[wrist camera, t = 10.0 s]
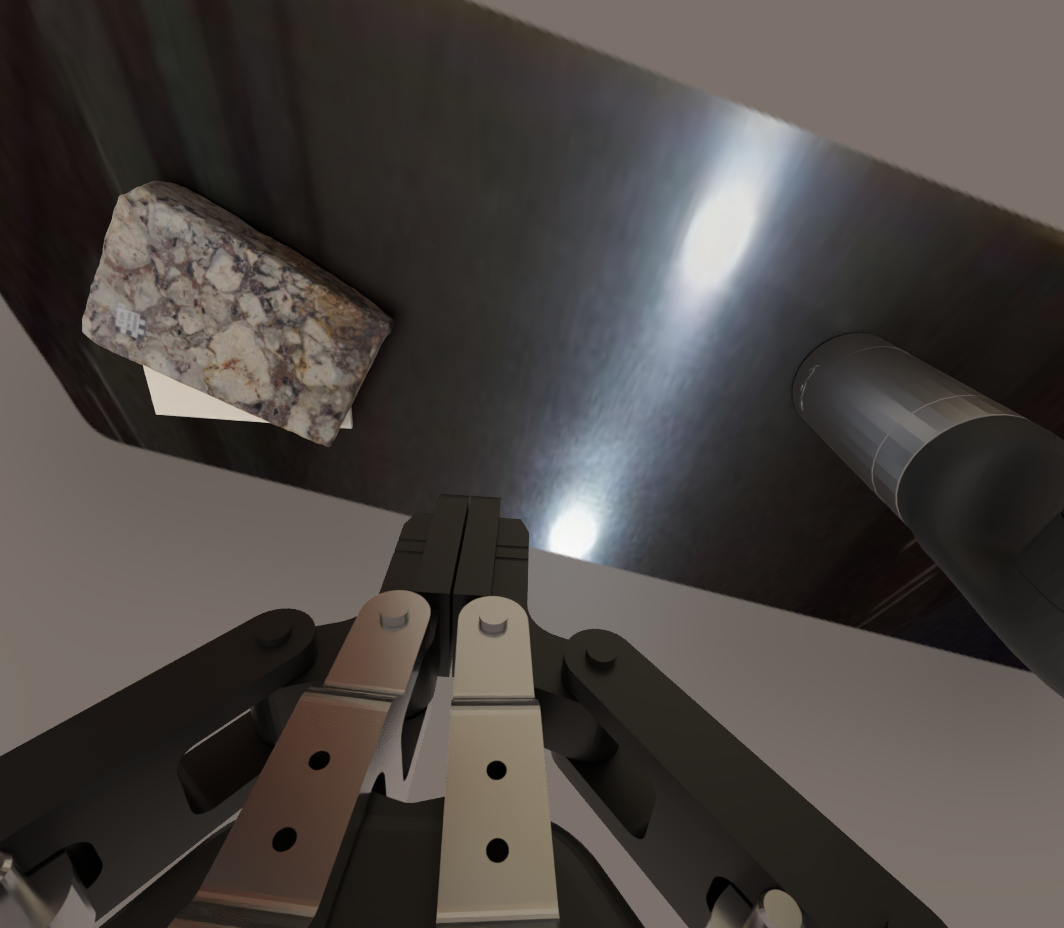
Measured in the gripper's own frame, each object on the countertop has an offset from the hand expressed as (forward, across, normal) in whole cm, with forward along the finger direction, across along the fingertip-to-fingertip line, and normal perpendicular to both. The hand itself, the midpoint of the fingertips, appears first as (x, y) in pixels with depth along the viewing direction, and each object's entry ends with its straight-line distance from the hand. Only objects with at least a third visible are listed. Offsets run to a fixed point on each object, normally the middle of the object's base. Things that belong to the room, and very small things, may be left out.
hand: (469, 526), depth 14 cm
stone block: (+34, +12, +10) cm, 38 cm away
